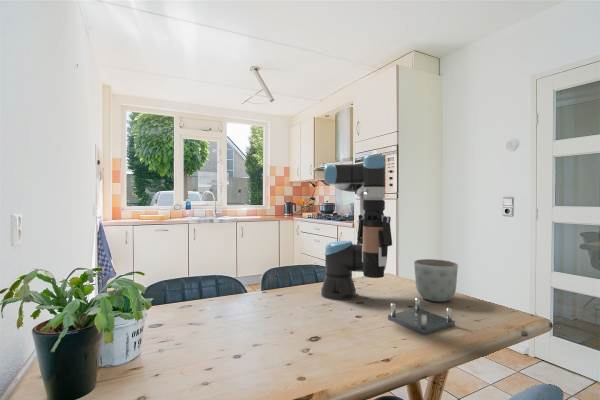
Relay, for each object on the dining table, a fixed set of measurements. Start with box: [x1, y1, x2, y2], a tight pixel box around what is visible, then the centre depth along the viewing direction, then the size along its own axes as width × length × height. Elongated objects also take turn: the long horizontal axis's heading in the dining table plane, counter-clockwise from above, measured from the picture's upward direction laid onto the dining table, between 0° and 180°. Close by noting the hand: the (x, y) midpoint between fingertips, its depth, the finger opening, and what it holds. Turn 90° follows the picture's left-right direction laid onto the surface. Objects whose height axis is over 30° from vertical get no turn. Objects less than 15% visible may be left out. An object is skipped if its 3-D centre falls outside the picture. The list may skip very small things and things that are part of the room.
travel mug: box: [363, 219, 385, 279], centre depth 113 cm, size 8×8×20 cm
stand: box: [387, 297, 456, 336], centre depth 108 cm, size 15×15×6 cm
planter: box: [413, 258, 459, 303], centre depth 135 cm, size 17×17×15 cm
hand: (373, 263), depth 113 cm, fingers closed on travel mug, 8 cm apart
